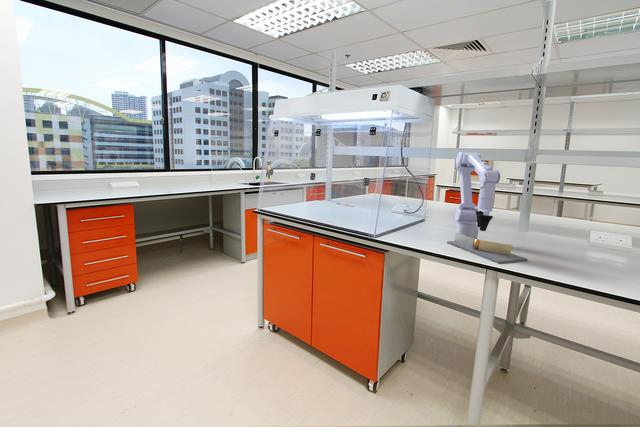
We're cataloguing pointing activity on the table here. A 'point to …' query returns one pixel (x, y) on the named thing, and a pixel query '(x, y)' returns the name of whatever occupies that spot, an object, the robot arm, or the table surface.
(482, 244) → the swing leaf
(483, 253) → the board
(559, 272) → the table surface
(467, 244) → the fixed leaf
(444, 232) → the table surface
